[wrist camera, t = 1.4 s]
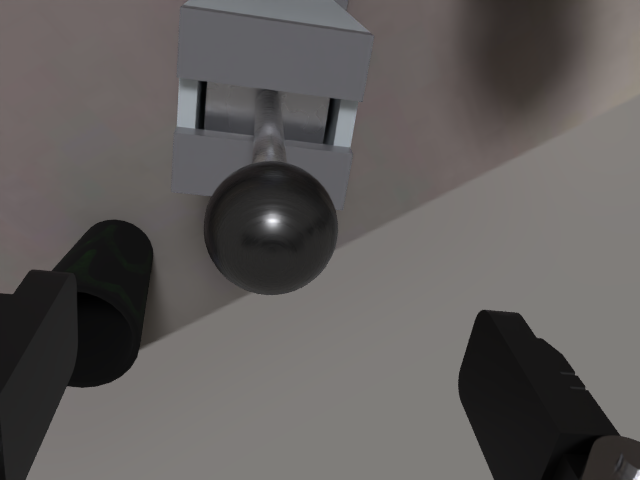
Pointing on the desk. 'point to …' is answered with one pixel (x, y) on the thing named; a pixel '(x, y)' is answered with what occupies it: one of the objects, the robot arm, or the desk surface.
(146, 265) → the cup
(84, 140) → the desk surface
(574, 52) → the desk surface
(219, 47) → the slotted square pillar
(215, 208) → the plunger
